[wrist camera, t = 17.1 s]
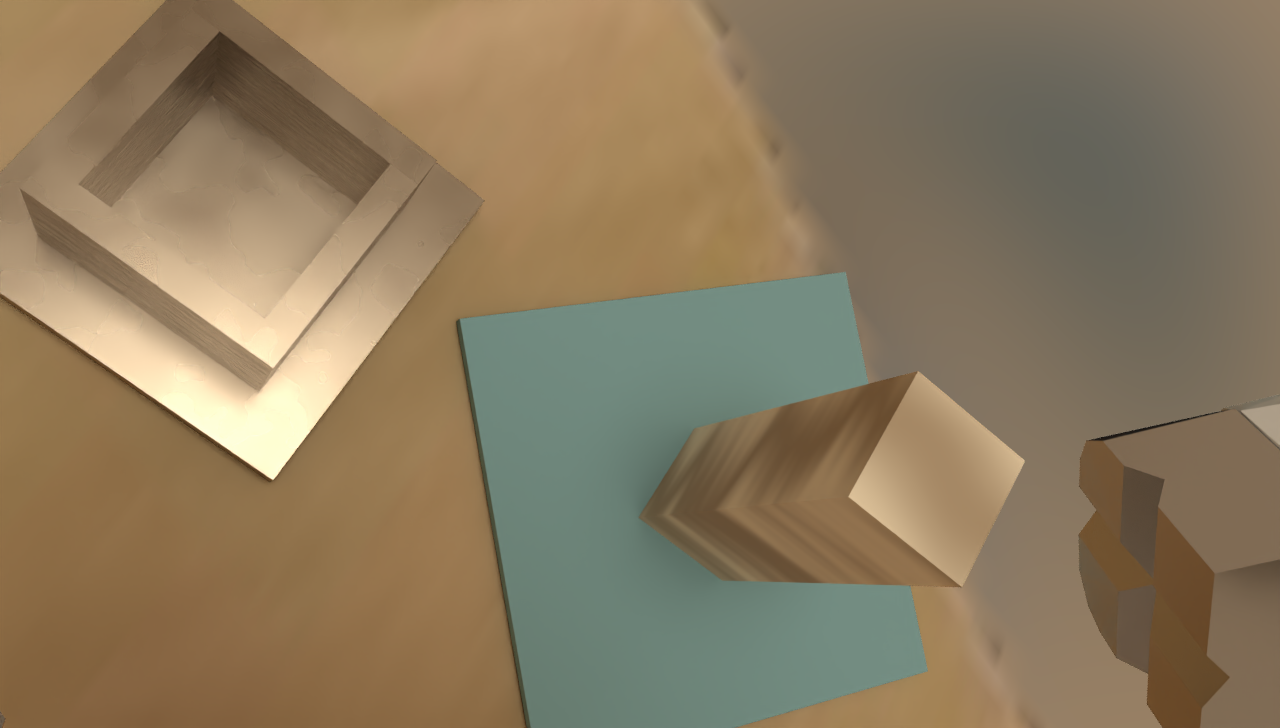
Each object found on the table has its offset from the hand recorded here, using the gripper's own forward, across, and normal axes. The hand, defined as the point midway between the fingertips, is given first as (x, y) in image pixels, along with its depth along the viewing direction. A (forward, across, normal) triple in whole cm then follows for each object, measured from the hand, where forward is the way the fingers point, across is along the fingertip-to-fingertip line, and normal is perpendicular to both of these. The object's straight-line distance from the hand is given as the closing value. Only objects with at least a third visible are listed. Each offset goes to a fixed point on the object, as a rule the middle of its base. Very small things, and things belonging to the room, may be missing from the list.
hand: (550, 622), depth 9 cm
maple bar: (+28, -3, +20) cm, 35 cm away
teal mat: (+28, -2, +21) cm, 35 cm away
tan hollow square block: (+30, +11, +7) cm, 33 cm away
